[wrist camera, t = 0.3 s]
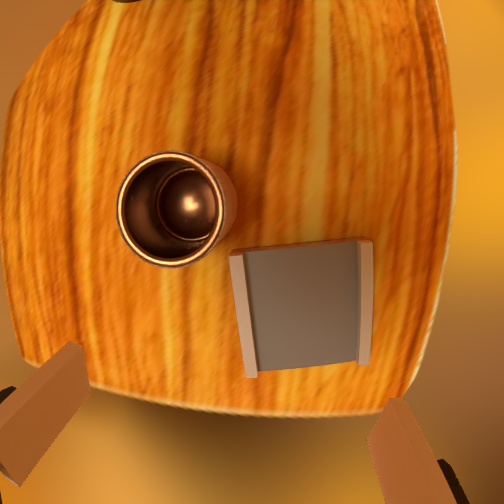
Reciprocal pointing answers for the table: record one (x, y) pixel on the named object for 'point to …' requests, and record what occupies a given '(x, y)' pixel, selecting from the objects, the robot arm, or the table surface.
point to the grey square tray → (304, 304)
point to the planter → (175, 208)
